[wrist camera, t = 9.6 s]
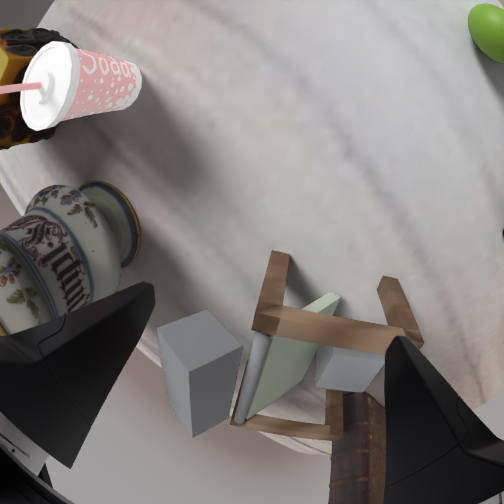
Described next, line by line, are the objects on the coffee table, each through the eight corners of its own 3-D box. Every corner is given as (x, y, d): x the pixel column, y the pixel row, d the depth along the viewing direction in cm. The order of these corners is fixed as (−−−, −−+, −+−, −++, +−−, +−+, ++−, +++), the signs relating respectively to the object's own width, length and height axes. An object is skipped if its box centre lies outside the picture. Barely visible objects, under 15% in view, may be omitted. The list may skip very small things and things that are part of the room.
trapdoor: (297, 266, 24) (341, 295, 21) (270, 354, 30) (301, 381, 27) (155, 320, 16) (198, 377, 13) (169, 408, 22) (199, 448, 19)
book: (327, 397, 31) (308, 575, 9) (377, 379, 28) (380, 572, 6) (368, 435, 35) (364, 560, 13) (407, 422, 32) (412, 552, 10)
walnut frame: (397, 278, 21) (424, 342, 14) (337, 384, 29) (337, 441, 22) (272, 250, 22) (255, 312, 15) (245, 367, 30) (229, 424, 23)
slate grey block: (331, 315, 24) (377, 323, 24) (315, 349, 27) (358, 356, 26) (333, 354, 20) (386, 361, 20) (314, 387, 23) (362, 392, 22)
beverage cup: (153, 107, 19) (1, 124, 6) (100, 126, 20) (-33, 162, 8) (146, 44, 16) (7, 16, 4) (94, 69, 17) (-35, 74, 5)
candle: (95, 60, 17) (11, 56, 8) (53, 140, 21) (-20, 164, 13) (56, 28, 15) (-12, 24, 6) (21, 98, 19) (-41, 112, 10)
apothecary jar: (77, 267, 28) (-20, 361, 13) (59, 171, 23) (-77, 243, 7) (157, 286, 27) (54, 427, 11) (145, 168, 21) (-48, 275, 5)
